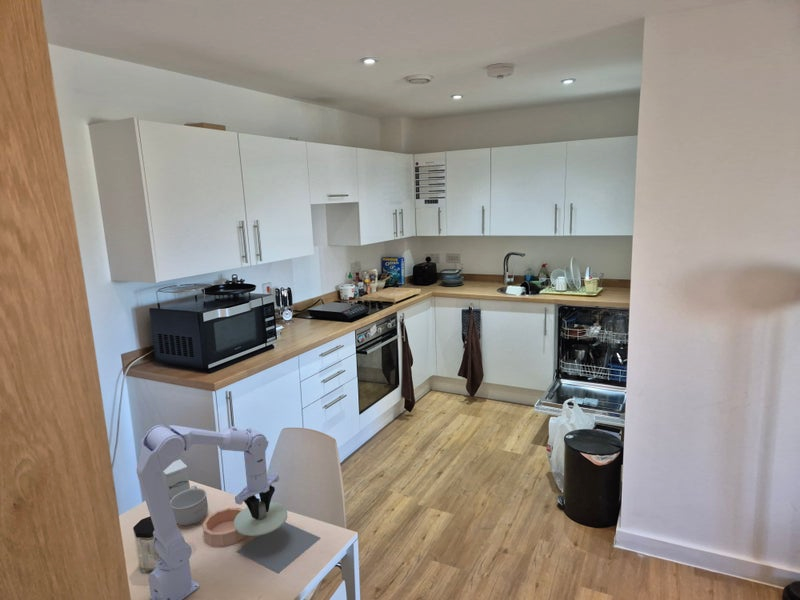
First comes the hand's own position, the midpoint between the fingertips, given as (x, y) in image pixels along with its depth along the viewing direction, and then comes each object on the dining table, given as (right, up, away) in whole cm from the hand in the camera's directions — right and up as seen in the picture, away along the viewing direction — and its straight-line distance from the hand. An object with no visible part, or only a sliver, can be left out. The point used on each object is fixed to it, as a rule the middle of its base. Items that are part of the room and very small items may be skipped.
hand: (260, 514), depth 149 cm
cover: (0, -2, 0) cm, 2 cm away
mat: (+6, -9, 0) cm, 11 cm away
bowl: (-12, -9, +6) cm, 16 cm away
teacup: (-26, -8, +16) cm, 31 cm away
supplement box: (-35, -6, +25) cm, 44 cm away
